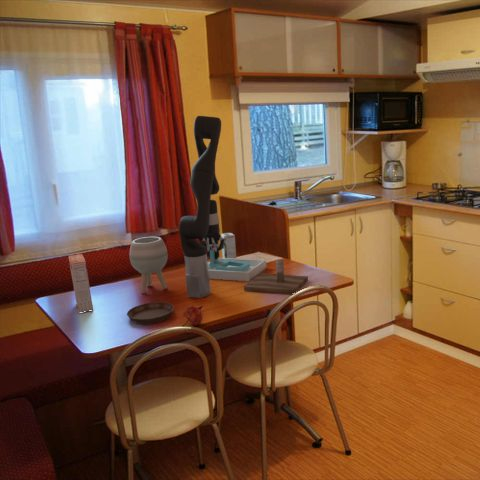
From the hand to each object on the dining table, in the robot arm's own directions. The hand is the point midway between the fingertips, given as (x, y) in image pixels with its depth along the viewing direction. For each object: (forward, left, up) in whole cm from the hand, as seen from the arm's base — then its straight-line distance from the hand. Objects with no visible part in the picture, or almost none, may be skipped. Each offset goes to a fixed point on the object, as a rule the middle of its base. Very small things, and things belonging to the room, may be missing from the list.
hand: (214, 258), depth 255 cm
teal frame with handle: (0, -7, -4) cm, 8 cm away
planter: (-29, +16, -7) cm, 34 cm away
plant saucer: (-57, -2, -7) cm, 57 cm away
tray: (0, -9, -7) cm, 11 cm away
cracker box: (-55, +32, -7) cm, 64 cm away
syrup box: (+16, 0, -7) cm, 17 cm away
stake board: (-13, -36, -7) cm, 39 cm away
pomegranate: (-60, -22, -7) cm, 64 cm away
